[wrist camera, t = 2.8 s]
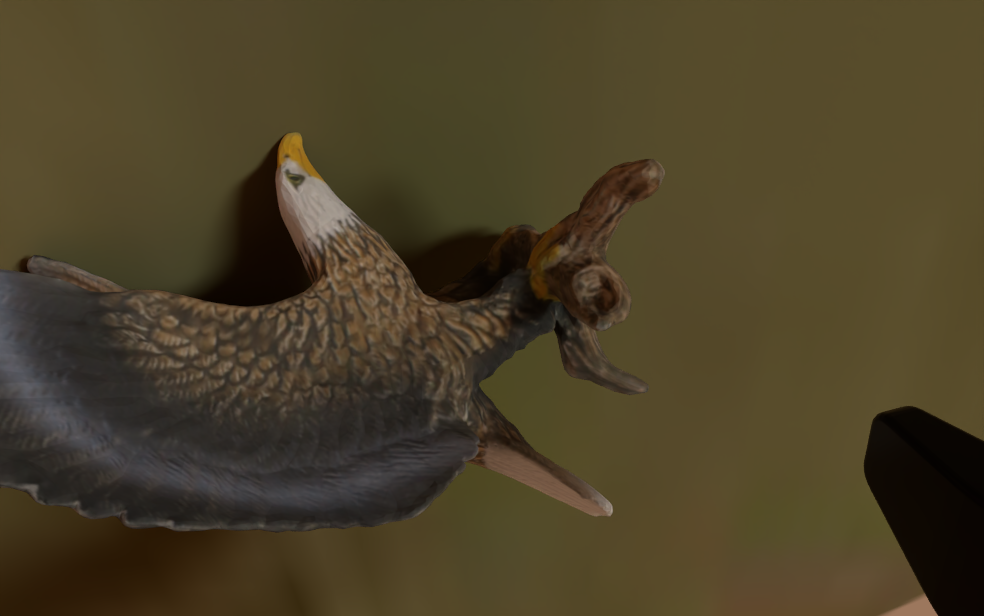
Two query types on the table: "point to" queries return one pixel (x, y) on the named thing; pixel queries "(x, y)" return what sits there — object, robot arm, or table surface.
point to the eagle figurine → (302, 374)
